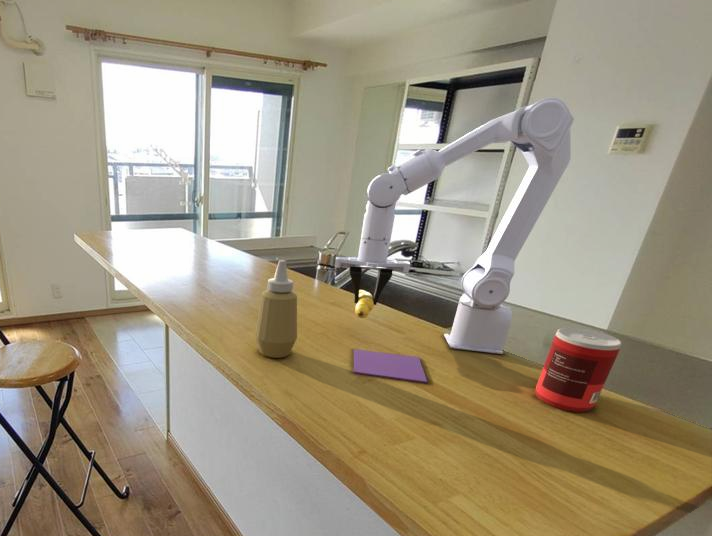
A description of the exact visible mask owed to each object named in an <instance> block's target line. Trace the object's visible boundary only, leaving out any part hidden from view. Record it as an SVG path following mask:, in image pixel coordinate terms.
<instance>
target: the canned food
mask: <svg viewBox="0 0 712 536" xmlns="http://www.w3.org/2000/svg"><path fill="white" fill-rule="evenodd" d="M621 347H622V341H621V340H620V339H618V338H616V337H615V336H612V335H610V334H607V333H604V332H601V331H598V330H594V329H593V330H591V329H586V328H581V327H563V328H562V327H561V328H558V329H557V330H556V333H555V335H554V338H553V340H552V342H551V345H550V348H549V351H548V354H547V357H546V358H545V362H544V364H543V367H542V370H541V373H540V376H539V378H538V381H537V383H536V385H535V396H536V397H537V398H538V400H540V401H541V402H543V403H545V404H547V405H549V406H550V407H553V408H555V409H556V408H557V409H559V410H563V411H568V412H574V413H584V412H589V411H590V410H592V409H593V407H595V405H596V404H597V402H598V400H599V397H600V395H601V394H602V393H601V392H602V390H603V388H604V386H605V384H606V381H607V379H608V377H609V375H610V373H611V371H612V369H613V366H614V364H615V362H616V360H617V357H618V356H619V352H620V351H621Z"/></svg>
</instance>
